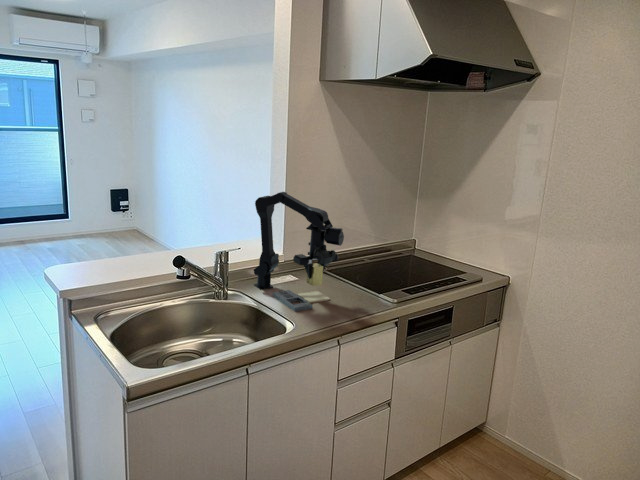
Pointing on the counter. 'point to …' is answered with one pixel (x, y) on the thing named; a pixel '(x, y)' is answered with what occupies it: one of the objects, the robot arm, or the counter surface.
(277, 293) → the grey block holder tray
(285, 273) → the counter surface
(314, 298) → the pale folded cloth
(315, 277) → the brass block
